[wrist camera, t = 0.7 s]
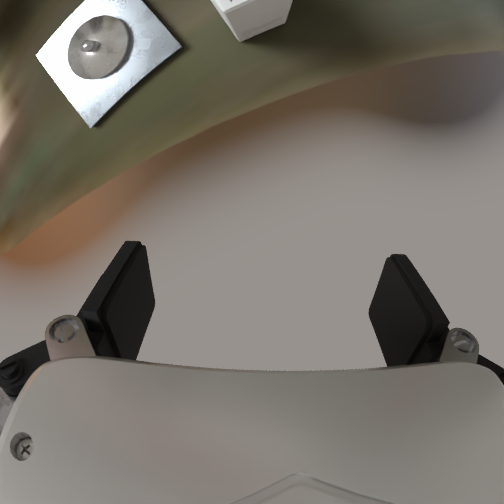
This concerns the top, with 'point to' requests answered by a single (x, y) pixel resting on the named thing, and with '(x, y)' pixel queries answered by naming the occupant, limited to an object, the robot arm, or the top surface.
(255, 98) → the top surface
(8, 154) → the top surface
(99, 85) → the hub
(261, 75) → the top surface
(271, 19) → the skincare box
